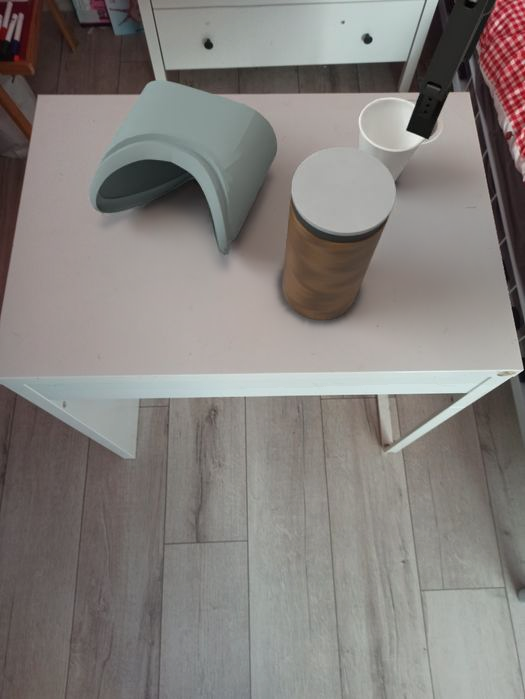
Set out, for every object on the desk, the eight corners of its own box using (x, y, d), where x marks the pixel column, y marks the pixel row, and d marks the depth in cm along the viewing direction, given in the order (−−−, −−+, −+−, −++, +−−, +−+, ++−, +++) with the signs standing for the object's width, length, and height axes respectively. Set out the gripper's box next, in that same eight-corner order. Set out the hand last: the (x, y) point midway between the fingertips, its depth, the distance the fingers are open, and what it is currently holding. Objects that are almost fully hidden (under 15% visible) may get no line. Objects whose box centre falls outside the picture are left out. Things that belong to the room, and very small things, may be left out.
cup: (340, 194, 78) (353, 143, 67) (351, 146, 81) (365, 91, 71) (402, 207, 77) (424, 157, 66) (410, 158, 80) (433, 103, 70)
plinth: (370, 279, 72) (409, 193, 54) (329, 334, 69) (355, 263, 51) (310, 241, 75) (327, 145, 56) (267, 292, 72) (270, 209, 53)
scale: (409, 193, 54) (415, 179, 51) (355, 263, 51) (359, 251, 48) (327, 145, 56) (330, 130, 54) (270, 209, 53) (270, 196, 51)
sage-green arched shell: (276, 176, 79) (278, 113, 67) (231, 273, 73) (225, 222, 61) (153, 137, 81) (134, 69, 69) (100, 227, 75) (69, 170, 63)
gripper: (538, -234, 41) (447, 14, 61) (431, -66, 33) (367, 155, 53) (627, -211, 40) (504, 35, 60) (537, -31, 32) (431, 182, 52)
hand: (439, 92), depth 57 cm, fingers open, 13 cm apart
